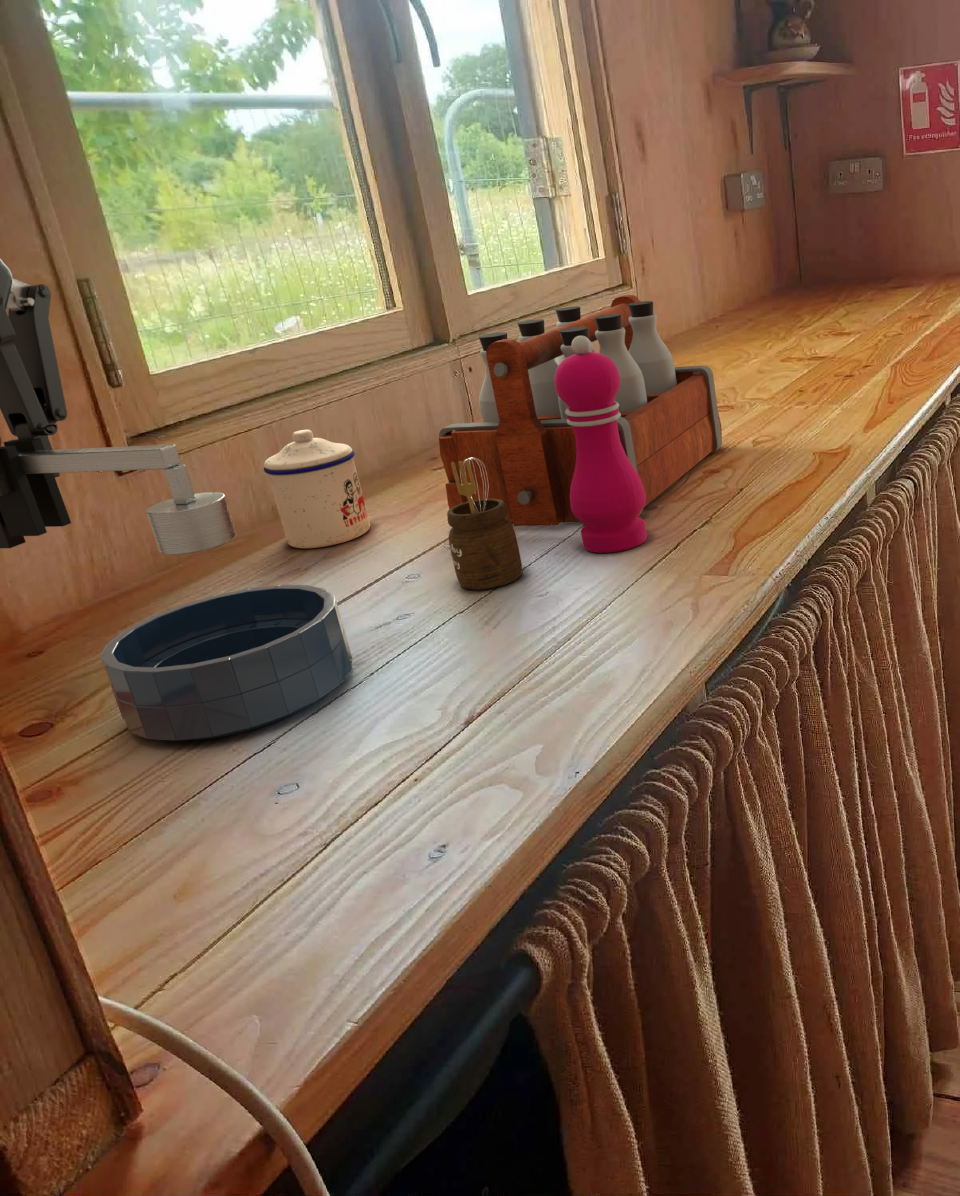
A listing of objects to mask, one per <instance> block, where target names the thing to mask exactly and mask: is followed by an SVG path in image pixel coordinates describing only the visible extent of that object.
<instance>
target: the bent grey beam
mask: <svg viewBox="0 0 960 1196" xmlns="http://www.w3.org/2000/svg"><path fill="white" fill-rule="evenodd" d="M17 453H18V455H19V459H20V461H21V464H22V467H23V470H24V472H25V474H44V473H60V474H67V473H69V474H70V473H71V474H72V473H93V472H95V473H97V472H120V471H121V472H123V471H149V470H150V471H151V470H163V472H164V474H165V478H166V481H167V484H168V487H169V490H170V493H171V496H172V498H170V499H165V500H163V501H161V502H158V503H155V504H153V505H150V506H149V507H148V508H147V509H146V512H145V513H146V515H147V518H148V522H149V524H150V528H151V531H152V534H153V537H154V539H155V542H156V545H157V549H158V551H159V553H161V554H162V555H164V556H165V555H166V556H179V555H187V554H193V553H198V552H202V551H207V550H210V549H214V548H216V547H220V546H222V545H225V544H227V543H229V542H231V541H232V540H234V539H235V538H236V537H237V531H236V528H235V527H236V526H235V524H234V521H233V517H232V515H231V510H230V508H229V504H228V501H227V498H226V495H225V494H224V493H223V492H218V491H208V492H199V493H198V492H197V493H195V491H194V488H193V486H192V482H191V479H190V476H189V473H188V469H187V466H186V465H185V464H181V463H182V461H181V458H180V455H179V452H178V449H177V446H176V444H175V443H174V444H155V445H154V444H153V445H151V444H150V445H131V446H130V445H129V446H109V447H107V446H106V447H89V448H87V447H86V448H85V447H84V448H65V449H61V448H60V449H53V450H39V451H17ZM25 543H26V539H25V536H10V535H9V532H8V530H7V527H6V525H5V522H4V519H3V517H2V514H1V512H0V549H12V548H15V547H17V546H20V545H23V544H25Z"/></svg>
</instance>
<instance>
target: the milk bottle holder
mask: <svg viewBox="0 0 960 1196" xmlns="http://www.w3.org/2000/svg"><path fill="white" fill-rule="evenodd" d="M555 313H556V317H557V320H558V321H556V327H555V328H554V329H551V330H548V331H545V319H543V318H542V319H541V318H539V319H530V320H523V321H519V322H517V323H516V324H517V327H518V330H519V332H520V335H519V336H518V341H517V340H516V339H512V338H508V333H507V332H503V331H502V332H492V333H486V334H482V335H479V336H478V339H479V342H480V345H481V348H482V349H481V350H480V351H479V352H480V353H479V355H480V356H481V358H482V360H483V363H484V365H485V375H484V379H483V382H482V385H481V389H480V391H479V397H478V404H479V405H478V406H479V411H480V416H481V418H479V419H477V420H475V421H474V420H473V422H465V423H464V422H463V423H452V424H451V423H450V424H449V425H447V426H445V427H443V428H441V429H440V431H439V433H438V443H439V452H440V453H439V455H440V459H441V461H442V465H443V468H444V472H445V474H446V478H447V481H448V482H446V483H445V484H444V485H445V491H446V498H447V499H446V500H447V505H448V510H449V509H450V508H452V507H454V506H456V505H459V504H461V503H465V502H468V498H467V496H464V495H461V494H459V492H458V488H457V485H456V481H455V477H454V473H453V470H452V466H451V463H452V462H454V463H455V466H456V470H457V473H458V477H459V481H460V484H464V483H463V479H462V475H461V477H460V473H461V471H460V468H459V464H458V462H459V461H461V462H463V461H464V460H466V459H468V458H470V459H468V460H469V462H470V466H471V470H472V473H473V477H474V481H475V485H476V489H477V490H476V492H475V493H476V495H475V493H474V494H472V495H471V496H472V497H471V498H472V499H473V500H479V498H480V499H483V498H484V499H499V500H502V501H503V502H504V504H505V506H506V509H507V516H506V517H505V518H507V519H508V520H510V522H511V523H512V525H513V527H538V526H539V527H540V526H541V527H542V526H543V527H544V526H550V527H551V526H558V525H560V524H562V523H563V524H564V523H567V524H569V523H570V524H571V523H582V522H581V521H580V520H579V519H578V518H577V517H576V516H575V515H574V514H573V512H572V510H571V505H570V487H571V482H572V478H573V474H574V470H575V465H576V455H577V449H576V439H575V435H574V431H573V427H572V426H571V425H569V424H568V423H567V420H568V418H567V416H568V415H566V413H565V411H566V409H567V408H569V407H568V405H567V404H566V403H565V402H564V401H563V400H562V399H561V398H560V397H559V396H558V394H557V392H556V389H555V373H556V369H557V367H558V366H559V364H560V363H561V362H562V361H563V360H564V359H566V358H567V357H569V356H571V355H574V354H576V353H575V352H574V351H573V349H572V346H571V345H572V341H573V339H574V338H575V337H577V336H585V337H587V338H588V339H589V340H590V342H591V349H590V351H589V352H595V353H596V351H595V350H594V348H593V347H594V343H593V342H596V341H597V342H598V345H599V352H598V353H600V354H603V355H605V356H607V357H608V358H610V359H611V360H612V361H613V363H614V364H615V365H616V367H617V369H618V372H619V375H620V388H619V391H618V393H617V394H616V396H615V398H614V401H616V402H618V403H619V407H618V409H619V412H620V414H621V416H620V418H618V419H617V425H618V433H619V437H620V441H621V444H622V447H623V449H624V452H625V454H626V455H627V457H628V459H629V461H630V462H631V464H632V466H633V467H634V469H635V470H636V472H637V473H638V475H639V477H640V480H641V482H642V484H643V487H644V491H645V495H646V502H645V505H644V507H643V509H642V510H641V512H640V514H639V515H638V517H640V516H641V514H642V513H643V510H644V508H645V507H647V506H648V505H649V504H650V503H651V502H652V501H653V500H655V499H656V498H657V497H659V496H660V495H661V494H662V493H663V492H664V491H666V490H667V489H668V488H670V487H671V486H672V485H673V484H674V483H675V482H677V481H678V480H679V479H680V478H682V477H683V476H684V475H685V474H687V472H689V471H690V470H691V469H692V468H693V467H695V466H696V465H697V464H698V463H699V462H700V461H702V460H703V459H704V458H706V457H707V456H708V455H712V454H715V453H716V452H717V451H718V450H720V448H721V447H722V445H723V436H722V433H723V431H722V422H721V418H720V414H719V410H718V401H717V393H716V386H715V377H714V372H713V370H712V368H710V367H709V366H708V365H705V364H703V365H686V366H675V361H674V357H673V355H672V353H671V351H670V350H669V348H668V347H667V345H666V343H665V342H664V341H663V340H662V338H661V337H660V335H659V333H658V329H657V320H658V316H657V314H656V313H654V301H653V300H646V301H645V300H644V301H641V300H640V299H639V297H638V296H635V295H633V294H623V295H620V296H617V297H615V298H614V299H612V301H611V304H610V307H608V308H606V309H603V310H601V311H599V312H596V313H593V314H591V315H588V316H585V317H583V318H581V315H582V314H581V313H582V312H581V306H566V307H560V308H557V309H555ZM472 458H477V460H476V459H475V460H474V459H472ZM471 459H472V460H471ZM478 459H479V460H478ZM472 461H473V463H472ZM465 462H466V461H465ZM465 462H463V463H464V465H463V468H464V472H466V478H467V482H468V483H471V481H470V477H469V473H468V470H467V466H466V464H465ZM477 462H478V463H477ZM463 463H462V464H463ZM480 463H481V464H480ZM478 464H479V465H478ZM483 464H484V465H483ZM473 465H474V467H473ZM481 465H482V466H481ZM479 466H480V467H479ZM484 466H485V467H484ZM482 467H483V469H482ZM474 469H475V472H474ZM480 469H481V471H480ZM485 469H486V470H485ZM483 471H484V473H483ZM481 473H482V475H481ZM486 473H487V475H486ZM475 474H476V477H475ZM484 475H485V478H484ZM487 477H488V480H487ZM482 478H483V480H482ZM476 479H477V482H476ZM461 480H462V483H461ZM485 481H486V485H485ZM483 483H484V488H483ZM488 484H489V490H488ZM477 485H478V488H477ZM478 491H479V494H478ZM485 493H486V498H485ZM487 494H488V497H487ZM476 497H477V499H476ZM473 500H472V501H473Z"/></svg>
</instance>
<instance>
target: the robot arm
mask: <svg viewBox="0 0 960 1196" xmlns="http://www.w3.org/2000/svg"><path fill="white" fill-rule="evenodd" d="M3 261H4V260H2V258H0V412H1V415H2V417H3V418H4V420H5V423H6V425H7V428H8V430H9V432H10V433H11V435H13V436H14V437H17V438H15V439H10V440H6V441H3V443H2V438H1V436H0V512H1V514H2V517H3V519H4V522H5V525H6V527H7V530H8V532H9V535H10V536H24V537H40V536H42V535H44V534H47V533H48V531H47V528H55V527H58V528H59V527H66V526H68V525H71V524H72V521H71V518H70V515H69V513H68V510H67V507H66V504H65V502H64V499H63V495H62V493H61V491H60V488H59V485H58V483H57V479H56V478H59V477H61V476H60V475H61V473H44V474H25V472H24V470H23V467H22V464H21V461H20V459H19V455H18V453H17V451H39V450H54V449H53V447H52V444H51V441H50V439H49V436H55V435H56V434H57V432H58V428H59V427H58V424H57V423H58V422H62V421H63V422H64V421H65V420H66V419H67V417H68V411H67V405H66V400H65V395H64V390H63V385H62V380H61V375H60V370H59V364H58V359H57V355H56V354H57V353H56V349H55V344H54V340H53V334H52V329H51V324H50V319H49V317H50V316H49V315H50V308H51V300H52V292H51V289H50V288H49V287H48V286H47V285H45V284H42V283H40V284H39V283H38V284H29V283H27V282H24V281H22V280H20V279H17V278H14V277H13V274H12V271H11V270H10V268H9V267H8V266H7V265H6V264H5V263H4V262H3ZM7 309H8V313H7ZM2 444H3V446H2Z"/></svg>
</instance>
